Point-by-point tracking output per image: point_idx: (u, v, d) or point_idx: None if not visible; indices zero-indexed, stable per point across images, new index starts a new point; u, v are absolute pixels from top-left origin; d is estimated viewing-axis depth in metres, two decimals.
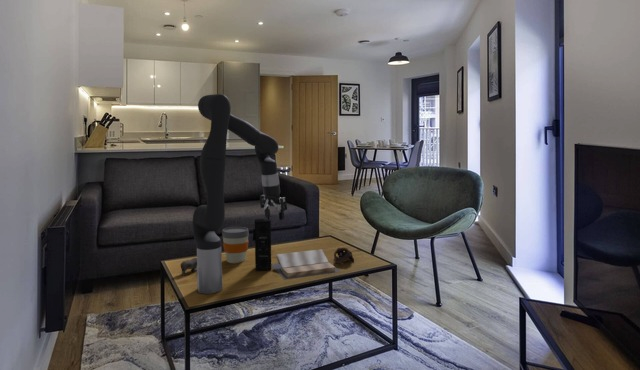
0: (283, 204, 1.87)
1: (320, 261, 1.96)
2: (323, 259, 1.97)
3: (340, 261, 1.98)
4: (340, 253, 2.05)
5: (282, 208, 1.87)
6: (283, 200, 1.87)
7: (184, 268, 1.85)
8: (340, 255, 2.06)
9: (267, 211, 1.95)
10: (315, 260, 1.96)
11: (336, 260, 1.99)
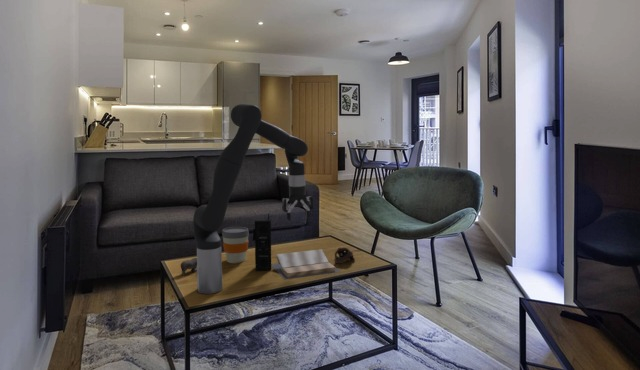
0: None
1: (320, 261, 1.96)
2: (323, 259, 1.97)
3: (341, 261, 1.98)
4: (341, 253, 2.05)
5: (312, 206, 1.98)
6: None
7: (184, 268, 1.85)
8: (341, 255, 2.06)
9: None
10: (315, 260, 1.96)
11: (337, 260, 1.99)
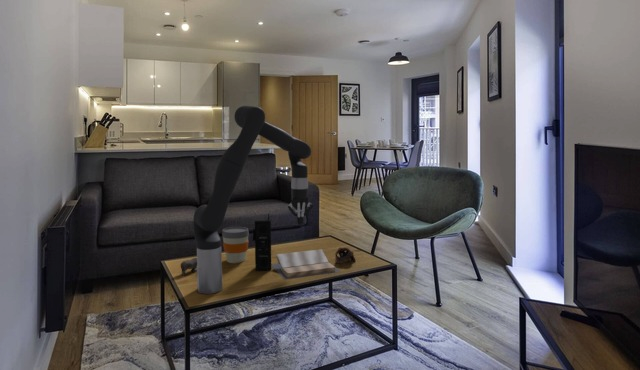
0: None
1: (320, 261, 1.96)
2: (323, 259, 1.97)
3: (341, 261, 1.98)
4: (341, 253, 2.05)
5: (307, 212, 1.97)
6: None
7: (184, 268, 1.85)
8: (341, 255, 2.06)
9: None
10: (315, 260, 1.96)
11: (337, 260, 1.99)
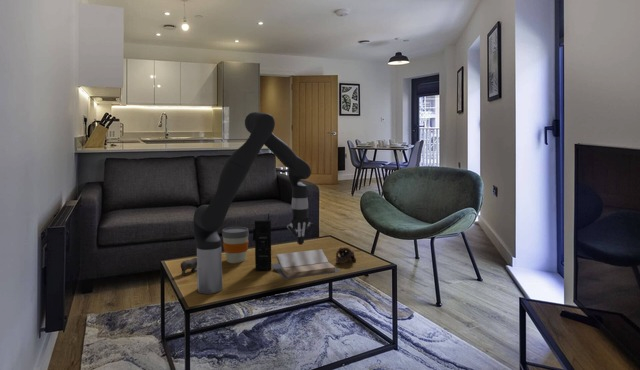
0: None
1: (320, 261, 1.96)
2: (323, 259, 1.97)
3: (342, 261, 1.98)
4: (342, 253, 2.05)
5: (307, 232, 1.98)
6: None
7: (184, 268, 1.85)
8: (342, 255, 2.06)
9: None
10: (315, 260, 1.96)
11: (338, 260, 1.99)
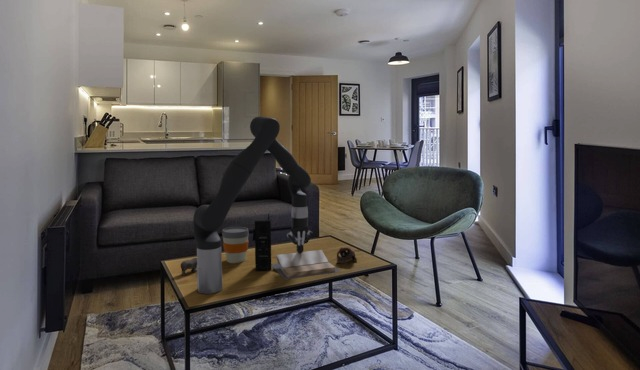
0: None
1: (320, 261, 1.96)
2: (323, 259, 1.98)
3: (343, 261, 1.98)
4: (343, 253, 2.05)
5: (307, 240, 1.99)
6: None
7: (184, 268, 1.84)
8: (342, 255, 2.06)
9: None
10: (315, 260, 1.96)
11: (339, 260, 1.99)
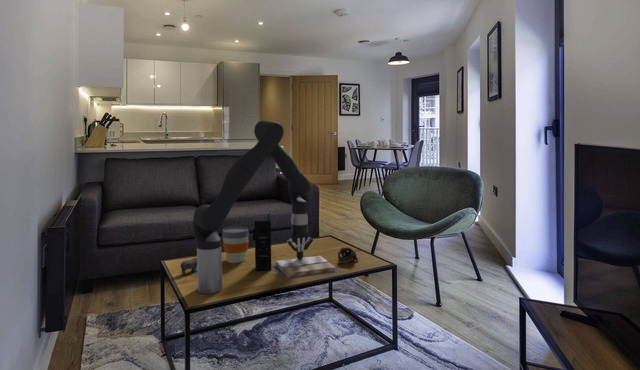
0: None
1: (319, 261, 1.97)
2: (322, 260, 1.99)
3: (344, 261, 1.98)
4: (344, 253, 2.05)
5: (307, 247, 1.99)
6: None
7: (184, 268, 1.84)
8: (344, 255, 2.06)
9: None
10: (314, 261, 1.97)
11: (340, 260, 1.99)
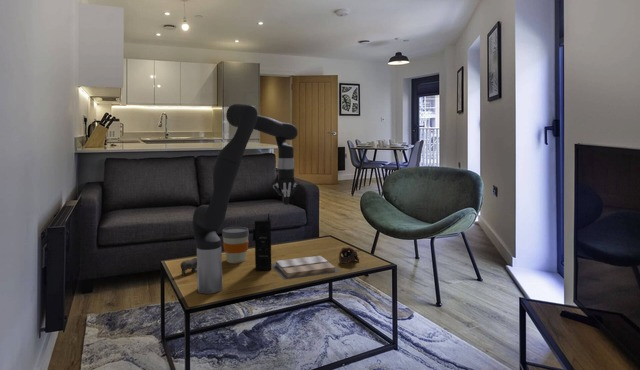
0: None
1: (319, 261, 1.97)
2: (322, 260, 1.99)
3: (345, 261, 1.98)
4: (345, 253, 2.05)
5: (293, 192, 2.02)
6: None
7: (184, 268, 1.84)
8: (345, 255, 2.06)
9: None
10: (314, 261, 1.97)
11: (341, 260, 1.99)
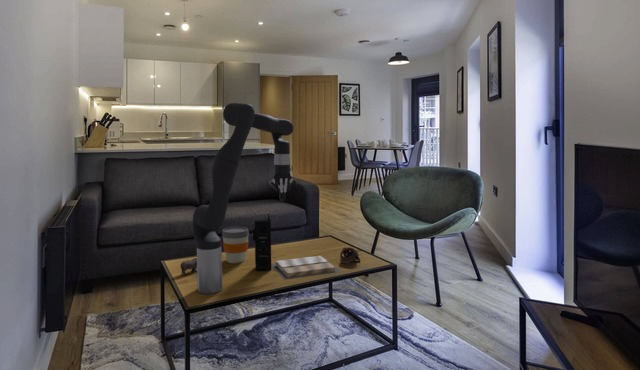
0: None
1: (319, 261, 1.97)
2: (322, 260, 1.99)
3: (347, 261, 1.98)
4: (346, 253, 2.05)
5: (289, 188, 2.03)
6: None
7: (184, 268, 1.84)
8: (346, 255, 2.06)
9: None
10: (314, 261, 1.97)
11: (342, 260, 1.99)
